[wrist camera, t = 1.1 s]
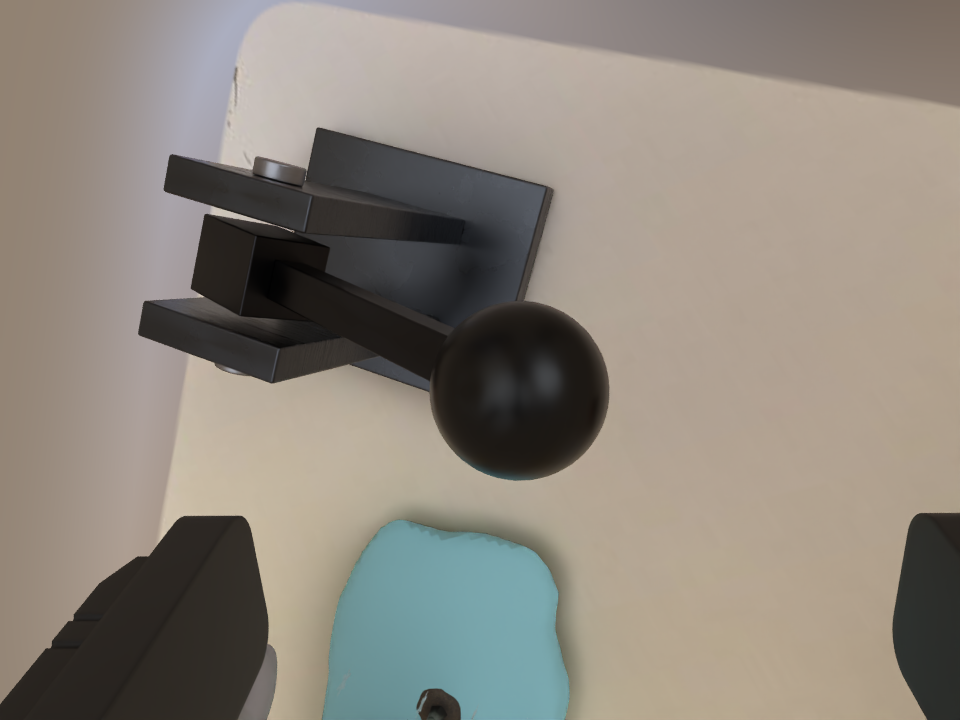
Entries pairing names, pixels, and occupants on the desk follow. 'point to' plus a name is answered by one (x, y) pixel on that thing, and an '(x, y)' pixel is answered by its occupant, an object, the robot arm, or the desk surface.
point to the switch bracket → (360, 248)
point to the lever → (430, 349)
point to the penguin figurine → (439, 633)
